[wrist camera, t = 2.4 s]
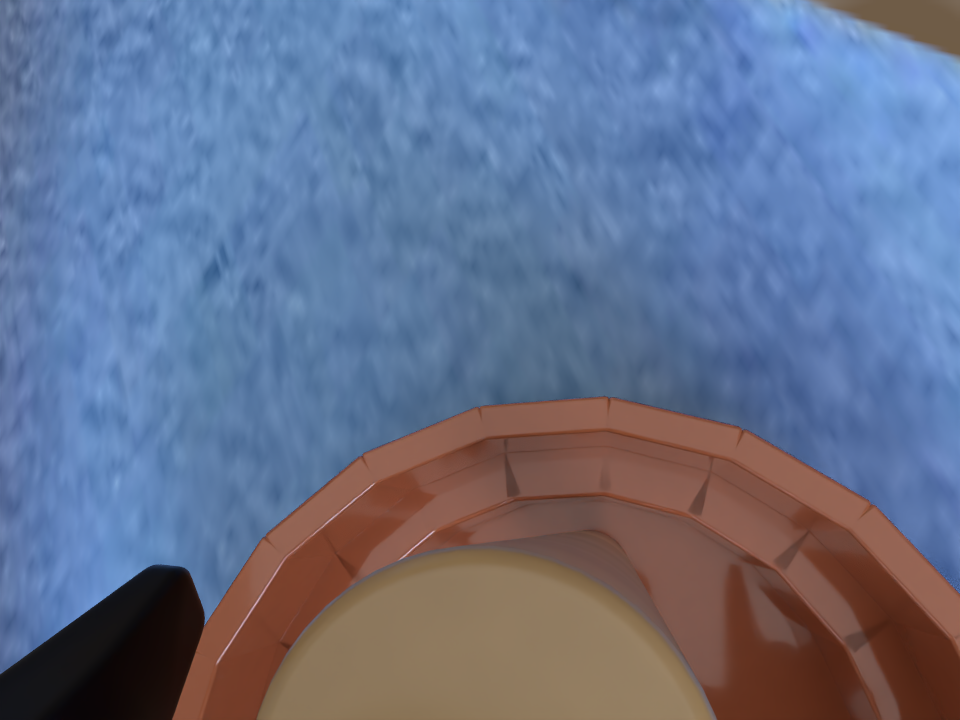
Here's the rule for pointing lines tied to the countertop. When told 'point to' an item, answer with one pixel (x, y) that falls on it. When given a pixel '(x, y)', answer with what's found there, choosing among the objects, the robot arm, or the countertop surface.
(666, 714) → the stirrer
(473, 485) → the bowl
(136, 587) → the robot arm
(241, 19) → the countertop surface
